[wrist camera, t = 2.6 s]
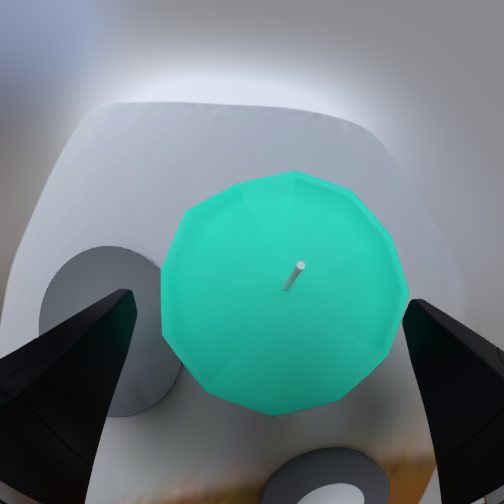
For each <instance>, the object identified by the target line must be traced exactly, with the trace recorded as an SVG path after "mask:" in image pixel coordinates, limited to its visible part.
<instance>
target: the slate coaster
mask: <svg viewBox="0 0 504 504" xmlns="http://www.w3.org/2000/svg"><path fill="white" fill-rule="evenodd" d="M120 288H122V289H130V290H132V291H133V294H134V298H135V302H136V306H137V311H138V315H137V320H136V324H135V327H134V331H133V335H132V339H131V343H130V347H129V351H128V355H127V358H126V361H125V364H124V366H123V369H122V372H121V375H120V378H119V381H118V384H117V386H116V389H115V392H114V395H113V398H112V402H111V405H110V408H109V411H108V414H107V417H127V416H131V415H135V414H138V413H140V412H142V411H145V410H147V409H148V408H150V407H151V406H153V405H154V404H156V403H157V402H159V401H160V400H161V399H162V398H163V397H164V396H165V395H166V394H167V393H168V392H169V390H170V389H171V388H172V386H173V385H174V383H175V381H176V380H177V378H178V376H179V373H180V371H181V368H182V365H183V363H182V361H181V360H180V359H179V357H178V356H177V355H176V353H175V352H174V351H173V349H172V348H171V347H170V345H169V344H168V343H167V341H166V340H165V338H164V337H163V336H162V319H161V271H160V270H159V269H158V268H157V267H156V266H155V265H153V264H152V263H151V262H150V261H149V260H147V259H146V258H144V257H143V256H141V255H140V254H138V253H136V252H133V251H131V250H129V249H125V248H121V247H114V246H101V247H96V248H92V249H89V250H86V251H84V252H82V253H80V254H78V255H76V256H74V257H73V258H72V259H70V260H69V261H68V262H67V263H66V264H64V265H63V266H62V267H61V269H60V270H59V271H58V272H57V273H56V275H55V276H54V278H53V279H52V281H51V282H50V284H49V286H48V288H47V290H46V293H45V296H44V298H43V302H42V306H41V310H40V317H39V336H40V335H42V334H43V333H45V332H47V331H48V330H50V329H52V328H53V327H55V326H57V325H58V324H60V323H62V322H63V321H65V320H67V319H68V318H70V317H72V316H73V315H75V314H77V313H78V312H80V311H82V310H83V309H85V308H87V307H88V306H90V305H92V304H94V303H95V302H97V301H99V300H100V299H102V298H104V297H106V296H107V295H109V294H111V293H113V292H114V291H116V290H118V289H120Z"/></svg>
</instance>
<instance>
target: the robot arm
mask: <svg viewBox="0 0 504 504" xmlns="http://www.w3.org/2000/svg"><path fill="white" fill-rule="evenodd" d="M137 315H138V311H137V306H136V302H135V298H134V294H133V291H132V290H130V289H122V288H120V289H118V290H116V291H114V292H113V293H111V294H109V295H107V296H106V297H104V298H102V299H100V300H99V301H97V302H95V303H94V304H92V305H90V306H88V307H87V308H85V309H83V310H82V311H80V312H78V313H77V314H75V315H73V316H72V317H70V318H68V319H67V320H65V321H63V322H62V323H60V324H58V325H57V326H55V327H53V328H52V329H50V330H48V331H47V332H45V333H43V334H42V335H40V336H39V337H38V338H35V339H34V340H32V341H30V342H29V343H27V344H26V345H24V346H22V347H21V348H19V349H17V350H16V351H14V352H12V353H10V354H8V355H6V356H5V357H3V358H1V359H0V504H85V499H86V494H87V490H88V485H89V481H90V477H91V472H92V467H93V464H94V460H95V456H96V452H97V448H98V445H99V441H100V438H101V434H102V431H103V427H104V424H105V421H106V417H107V414H108V411H109V408H110V405H111V402H112V398H113V395H114V392H115V389H116V386H117V384H118V381H119V378H120V375H121V372H122V369H123V366H124V364H125V361H126V358H127V355H128V351H129V347H130V343H131V339H132V335H133V331H134V327H135V324H136V320H137ZM402 325H403V329H404V333H405V337H406V342H407V346H408V350H409V355H410V359H411V363H412V367H413V370H414V373H415V376H416V380H417V383H418V386H419V390H420V393H421V397H422V401H423V404H424V408H425V412H426V416H427V420H428V425H429V429H430V433H431V438H432V443H433V448H434V453H435V458H436V464H437V470H438V477H439V485H440V493H441V502H442V504H471V503H473V502H475V501H477V500H479V499H481V498H483V497H484V500H485V503H483V504H504V351H502V350H501V349H499V348H498V347H496V346H495V345H493V344H492V343H490V342H489V341H487V340H486V339H485V338H483V337H482V336H480V335H478V334H477V333H475V332H474V331H472V330H471V329H469V328H468V327H466V326H465V325H463V324H462V323H460V322H458V321H457V320H455V319H454V318H452V317H451V316H449V315H447V314H446V313H444V312H443V311H441V310H439V309H438V308H436V307H434V306H433V305H431V304H430V303H428V302H426V301H425V300H423V299H412V300H411V301H410V302H409V304H408V307H407V309H406V312H405V314H404V317H403V320H402Z"/></svg>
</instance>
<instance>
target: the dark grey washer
mask: <svg viewBox="0 0 504 504" xmlns="http://www.w3.org/2000/svg"><path fill="white" fill-rule="evenodd" d="M389 492H390V485H389V480H388V478H387V475H386V474H385V472H384V471H383V470H382V469H381V468H380V467H379V466H377V465H376V464H375V463H374V462H373V461H372V460H370V459H369V458H368V457H367V456H365V455H364V454H362V453H360V452H358V451H355V450H352V449H347V448H326V449H320V450H316V451H312V452H309V453H306V454H303V455H301V456H299V457H296V458H294V459H293V460H291V461H289V462H288V463H286V464H285V465H283V466H282V467H280V468H279V469H278V470H277V471H276V472H275V473H274V474H273V475H272V476H271V477H270V478H269V480H268V481H267V482H266V484H265V486H264V488H263V490H262V493H261V498H260V504H386V503H387V500H388V497H389Z"/></svg>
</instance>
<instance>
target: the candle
mask: <svg viewBox="0 0 504 504" xmlns="http://www.w3.org/2000/svg"><path fill="white" fill-rule="evenodd" d="M408 297H409V290H408V286H407V283H406V280H405V276H404V273H403V270H402V267H401V264H400V260H399V257H398V254H397V251H396V248H395V246H394V243H393V240H392V237H391V235H390V234H389V233H388V231H387V230H386V229H385V228H384V227H383V225H382V224H381V223H380V222H379V221H378V219H377V218H376V217H375V216H374V215H373V214H372V212H371V211H370V210H369V209H368V208H367V207H366V206H365V204H364V203H363V202H362V201H361V200H360V199H359V198H358V197H357V196H356V194H355V193H354V192H353V191H352V190H349V189H347V188H344V187H341V186H338V185H336V184H333V183H330V182H327V181H325V180H322V179H319V178H316V177H313V176H310V175H307V174H304V173H301V172H298V171H292V172H288V173H283V174H278V175H273V176H269V177H264V178H260V179H256V180H251V181H247V182H243V183H238V184H236V185H234V186H232V187H230V188H228V189H226V190H224V191H222V192H220V193H218V194H216V195H215V196H213V197H211V198H209V199H207V200H205V201H203V202H202V203H200V204H198V205H196V206H194V207H192V208H191V209H189V210H187V211H186V212H185V214H184V217H183V219H182V221H181V223H180V226H179V228H178V230H177V233H176V235H175V237H174V240H173V242H172V244H171V247H170V249H169V252H168V254H167V256H166V259H165V261H164V264H163V266H162V269H161V319H162V336H163V337H164V338H165V340H166V341H167V343H168V344H169V345H170V347H171V348H172V349H173V351H174V352H175V353H176V355H177V356H178V357H179V359H180V360H181V361H182V363H183V364H184V365H185V367H186V368H187V369H188V370H189V372H190V373H191V374H192V375H193V377H194V378H195V379H196V380H197V382H198V383H199V384H200V385H201V387H202V388H203V389H204V390H205V391H206V392H208V393H210V394H212V395H215V396H217V397H220V398H222V399H225V400H228V401H230V402H233V403H235V404H238V405H241V406H244V407H247V408H249V409H252V410H255V411H258V412H261V413H264V414H267V415H270V416H277V415H282V414H287V413H291V412H296V411H300V410H305V409H309V408H313V407H317V406H321V405H325V404H328V403H332V402H335V401H339V400H340V399H341V398H342V397H344V396H345V395H346V394H347V393H348V392H349V391H351V390H352V389H353V388H354V387H355V386H356V385H358V384H359V383H360V382H361V381H362V380H363V379H364V378H365V377H366V376H367V375H369V374H370V373H371V372H372V371H373V370H374V369H375V368H376V367H377V366H378V365H379V364H380V363H381V362H382V361H383V360H384V359H385V358H386V357H387V356H388V355H389V352H390V350H391V347H392V344H393V342H394V339H395V336H396V333H397V331H398V328H399V325H400V322H401V319H402V316H403V313H404V310H405V306H406V303H407V300H408Z"/></svg>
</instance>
